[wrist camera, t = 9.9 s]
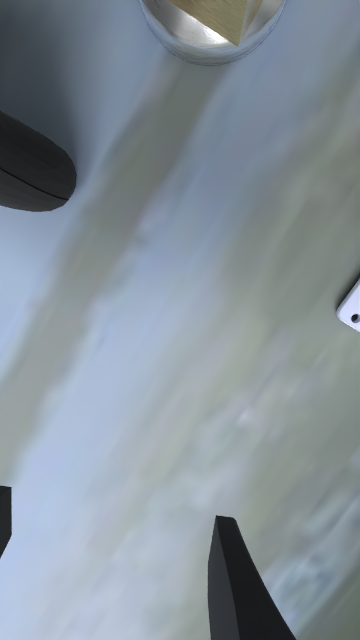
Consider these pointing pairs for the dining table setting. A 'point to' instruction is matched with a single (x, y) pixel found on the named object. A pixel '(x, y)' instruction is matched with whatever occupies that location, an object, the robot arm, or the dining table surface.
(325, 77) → the dining table surface
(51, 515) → the dining table surface
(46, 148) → the gaming controller
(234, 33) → the brushed gold cube
